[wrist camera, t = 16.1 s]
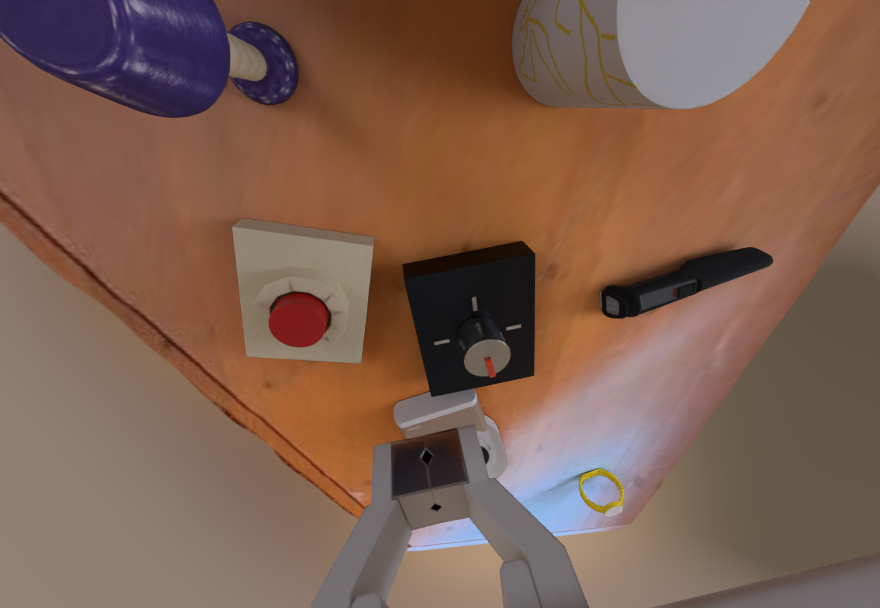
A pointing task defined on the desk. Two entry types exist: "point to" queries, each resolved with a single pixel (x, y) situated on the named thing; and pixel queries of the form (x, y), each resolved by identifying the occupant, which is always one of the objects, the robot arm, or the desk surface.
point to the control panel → (473, 311)
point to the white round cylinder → (646, 49)
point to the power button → (298, 320)
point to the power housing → (303, 285)
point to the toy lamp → (151, 51)
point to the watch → (612, 507)
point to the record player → (452, 422)
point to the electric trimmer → (681, 282)
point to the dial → (482, 346)
